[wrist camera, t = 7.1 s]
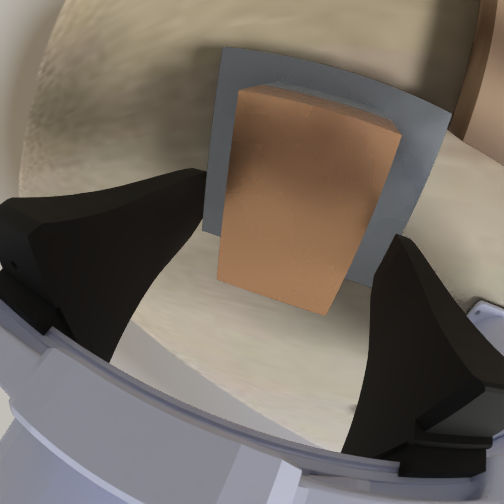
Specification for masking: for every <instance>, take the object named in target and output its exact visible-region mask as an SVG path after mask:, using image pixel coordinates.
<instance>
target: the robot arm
mask: <svg viewBox="0 0 504 504" xmlns="http://www.w3.org/2000/svg"><path fill="white" fill-rule="evenodd" d="M206 178H207V172H206V171H202V170H198V169H194V168H189V169H183V170H179V171H175V172H171V173H167V174H163V175H160V176H156V177H153V178H149V179H146V180H142V181H138V182H134V183H130V184H127V185H123V186H119V187H114V188H110V189H105V190H100V191H94V192H88V193H80V194H74V195H66V196H54V197H30V198H10V199H7V200H6V201H4V202H3V203H2V204H0V263H1V265H2V268H3V269H2V270H1V271H0V386H1V387H2V389H3V390H4V391H5V392H6V393H7V394H8V395H9V396H10V397H11V398H10V399H9V404H10V409H11V412H12V414H13V415H14V417H15V419H14V420H13V422H12V424H11V425H10V426H9V428H8V430H7V431H6V433H5V434H4V436H3V437H2V439H1V441H0V504H504V309H502V308H500V307H498V306H495V305H493V304H490V303H488V302H485V301H479V302H477V303H476V305H475V306H474V307H473V308H472V309H471V311H470V312H469V313H468V314H467V315H466V314H465V313H464V312H463V311H462V309H461V308H460V307H459V306H458V304H457V303H456V302H455V300H454V299H453V298H452V296H451V295H450V293H449V292H448V290H447V289H446V288H445V286H444V285H443V283H442V282H441V281H440V279H439V278H438V276H437V275H436V273H435V272H434V270H433V269H432V267H431V266H430V264H429V263H428V261H427V260H426V258H425V257H424V256H423V254H422V253H421V251H420V250H419V249H418V247H417V246H416V245H415V243H414V242H413V241H412V240H411V239H409V238H407V237H404V236H402V235H399V234H395V236H394V238H393V240H392V242H391V244H390V246H389V248H388V250H387V252H386V254H385V256H384V257H383V259H382V261H381V263H380V265H379V267H378V268H377V270H376V272H375V274H374V277H373V284H372V291H371V300H370V334H369V351H368V360H367V365H366V371H365V376H364V380H363V385H362V389H361V393H360V397H359V401H358V404H357V408H356V411H355V414H354V418H353V421H352V424H351V427H350V430H349V433H348V435H347V438H346V441H345V443H344V446H343V448H342V451H341V453H338V452H333V451H328V450H324V449H319V448H315V447H311V446H307V445H303V444H299V443H295V442H292V441H288V440H285V439H281V438H278V437H275V436H271V435H268V434H265V433H262V432H259V431H255V430H253V429H250V428H247V427H244V426H241V425H238V424H235V423H233V422H230V421H227V420H225V419H222V418H220V417H217V416H215V415H212V414H210V413H207V412H205V411H203V410H200V409H198V408H196V407H193V406H191V405H189V404H186V403H184V402H182V401H180V400H178V399H175V398H173V397H171V396H169V395H167V394H165V393H163V392H161V391H159V390H157V389H155V388H153V387H151V386H149V385H147V384H145V383H143V382H141V381H139V380H138V379H135V378H134V377H132V376H130V375H128V374H127V373H125V372H123V371H121V370H119V369H118V368H116V367H114V366H113V365H111V364H109V362H110V360H111V358H112V355H113V353H114V351H115V348H116V346H117V344H118V342H119V340H120V338H121V336H122V334H123V332H124V330H125V328H126V326H127V324H128V322H129V320H130V319H131V317H132V315H133V313H134V312H135V310H136V308H137V306H138V305H139V303H140V301H141V300H142V298H143V297H144V295H145V293H146V292H147V290H148V289H149V287H150V286H151V284H152V282H153V281H154V280H155V278H156V277H157V276H158V275H159V273H160V272H161V271H162V270H163V269H164V267H165V266H166V265H167V264H168V263H169V262H170V260H171V259H172V258H173V257H174V256H175V255H176V253H177V252H178V251H179V250H180V249H181V248H182V246H183V245H184V244H185V243H186V242H187V241H188V239H189V238H190V237H191V236H192V234H193V233H194V231H195V230H196V228H197V226H198V225H199V223H200V222H201V220H202V218H203V212H204V200H205V188H206ZM476 311H477V312H476Z"/></svg>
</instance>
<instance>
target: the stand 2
mask: <svg viewBox="0 0 504 504" xmlns="http://www.w3.org/2000/svg"><path fill="white" fill-rule="evenodd" d="M448 130H449V131H450V132H451V133H453V134H454V135H455V136H456V137H458V138H459V139H460V140H461V141H463V142H465V143H466V144H468V145H470V146H472V147H473V148H475V149H477V150H479V151H480V152H482V153H484V154H485V155H487V156H489V157H490V158H492V159H494V160H495V161H497V162H498V163H500V164H502V165H503V166H504V0H480V7H479V13H478V20H477V25H476V31H475V36H474V41H473V46H472V50H471V55H470V59H469V63H468V67H467V71H466V75H465V78H464V82H463V85H462V89H461V92H460V96H459V99H458V102H457V105H456V109H455V112H454V115H453V118H452V121H451V123H450V126H449V129H448Z"/></svg>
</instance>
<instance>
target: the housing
mask: <svg viewBox="0 0 504 504" xmlns="http://www.w3.org/2000/svg"><path fill="white" fill-rule="evenodd" d="M401 136H402V135H401V133H400V132H399V130H398V129H397V127H396V126H395V125H394V123H393V122H392V120H391V119H390V118H389V116H388V115H387V114H386V112H385V111H383V110H380V109H377V108H374V107H371V106H368V105H366V104H362V103H359V102H356V101H353V100H350V99H347V98H343V97H340V96H336V95H333V94H329V93H326V92H322V91H318V90H314V89H310V88H306V87H302V86H298V85H293V84H289V83H284V82H279V81H276V82H271V83H267V84H262V85H258V86H254V87H249V88H245V89H241V90H239V92H238V99H237V106H236V113H235V120H234V128H233V136H232V143H231V151H230V159H229V167H228V176H227V184H226V193H225V202H224V211H223V221H222V230H221V240H220V250H219V261H218V271H217V280H220V281H223V282H225V283H228V284H231V285H234V286H237V287H240V288H242V289H245V290H248V291H251V292H254V293H257V294H260V295H263V296H266V297H269V298H272V299H275V300H278V301H281V302H284V303H287V304H290V305H293V306H296V307H299V308H302V309H305V310H308V311H311V312H315V313H318V314H321V315H324V316H326V314H327V312H328V310H329V308H330V306H331V304H332V302H333V300H334V298H335V296H336V294H337V292H338V290H339V288H340V286H341V284H342V282H343V280H344V278H345V276H346V274H347V271H348V269H349V267H350V265H351V263H352V261H353V259H354V256H355V254H356V252H357V250H358V247H359V245H360V243H361V241H362V238H363V236H364V234H365V231H366V229H367V227H368V224H369V222H370V219H371V217H372V215H373V212H374V210H375V207H376V205H377V202H378V200H379V197H380V195H381V192H382V189H383V187H384V184H385V182H386V179H387V176H388V174H389V171H390V168H391V165H392V162H393V160H394V157H395V154H396V151H397V148H398V145H399V142H400V139H401Z"/></svg>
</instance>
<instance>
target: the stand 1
mask: <svg viewBox="0 0 504 504" xmlns="http://www.w3.org/2000/svg"><path fill="white" fill-rule="evenodd" d="M276 81H279V82H284V83H289V84H293V85H298V86H302V87H306V88H310V89H314V90H318V91H322V92H326V93H329V94H333V95H336V96H340V97H343V98H347V99H350V100H353V101H356V102H359V103H362V104H366V105H368V106H371V107H374V108H377V109H380V110H383V111H385V112H386V114H387V115H388V116H389V118H390V119H391V120H392V122H393V123H394V125H395V126H396V127H397V129H398V130H399V132H400V133H401V135H402V136H401V139H400V142H399V145H398V148H397V151H396V154H395V157H394V160H393V162H392V165H391V168H390V171H389V174H388V176H387V179H386V182H385V184H384V187H383V189H382V192H381V195H380V197H379V200H378V202H377V205H376V207H375V210H374V212H373V215H372V217H371V219H370V222H369V224H368V227H367V229H366V231H365V234H364V236H363V238H362V241H361V243H360V245H359V247H358V250H357V252H356V254H355V256H354V259H353V261H352V263H351V265H350V267H349V269H348V271H347V274H346V276H345V279H348V280H350V281H353V282H356V283H359V284H362V285H365V286H368V287H371V288H372V284H373V277H374V274H375V272H376V270H377V268H378V267H379V265H380V263H381V261H382V259H383V257H384V256H385V254H386V252H387V250H388V248H389V246H390V244H391V242H392V240H393V238H394V236H395V234H399V235H401V234H402V232H403V230H404V228H405V226H406V224H407V222H408V220H409V218H410V216H411V214H412V212H413V210H414V208H415V206H416V203H417V201H418V199H419V197H420V195H421V192H422V190H423V188H424V186H425V183H426V181H427V179H428V176H429V174H430V172H431V169H432V167H433V164H434V162H435V160H436V157H437V154H438V152H439V149H440V147H441V144H442V141H443V139H444V136H445V133H446V130H447V128H448V125H449V122H450V119H451V116H452V114H451V113H450V112H448V111H446V110H444V109H442V108H440V107H438V106H436V105H434V104H432V103H430V102H428V101H426V100H423V99H421V98H419V97H417V96H414V95H412V94H410V93H407V92H405V91H402V90H400V89H398V88H395V87H392V86H390V85H387V84H385V83H382V82H379V81H376V80H374V79H371V78H368V77H365V76H362V75H359V74H356V73H352V72H349V71H346V70H343V69H339V68H336V67H332V66H328V65H325V64H321V63H317V62H313V61H309V60H304V59H300V58H295V57H291V56H286V55H281V54H275V53H269V52H263V51H257V50H250V49H243V48H233V47H223V50H222V56H221V63H220V69H219V76H218V83H217V91H216V98H215V106H214V114H213V122H212V130H211V139H210V148H209V158H208V168H207V178H206V189H205V200H204V213H203V226H202V231H205V232H208V233H211V234H214V235H217V236H220V237H221V230H222V221H223V211H224V202H225V193H226V184H227V176H228V167H229V159H230V151H231V143H232V136H233V128H234V120H235V113H236V106H237V99H238V92H239V90H241V89H245V88H249V87H254V86H258V85H262V84H267V83H271V82H276Z"/></svg>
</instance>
